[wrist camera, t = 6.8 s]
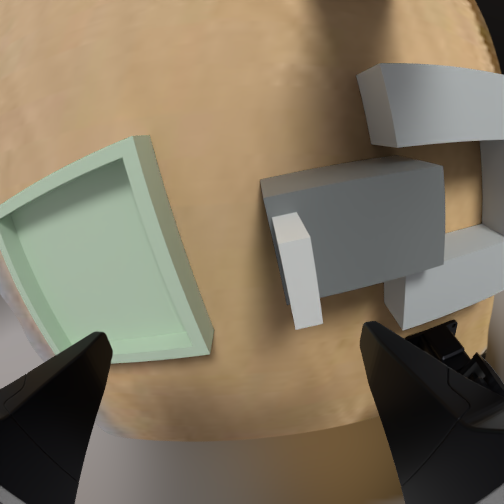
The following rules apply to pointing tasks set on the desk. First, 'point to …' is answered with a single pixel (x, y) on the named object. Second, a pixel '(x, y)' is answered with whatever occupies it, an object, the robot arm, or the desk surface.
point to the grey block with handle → (353, 227)
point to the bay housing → (432, 132)
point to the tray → (106, 257)
